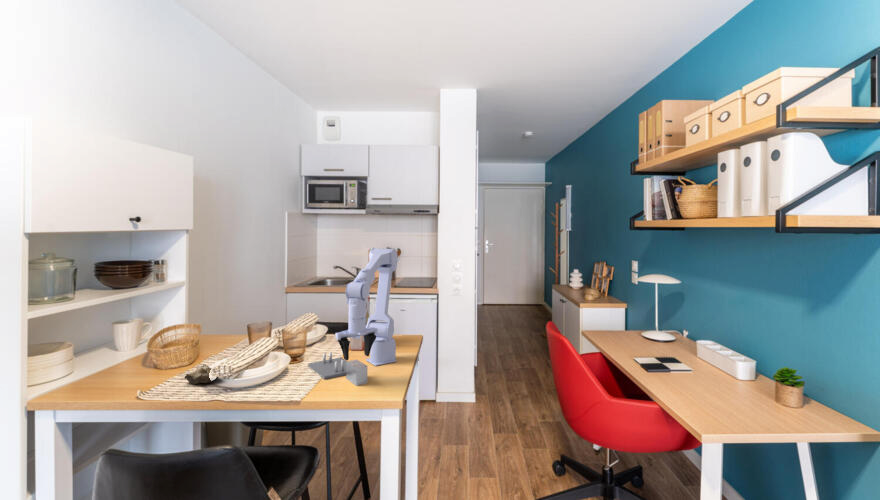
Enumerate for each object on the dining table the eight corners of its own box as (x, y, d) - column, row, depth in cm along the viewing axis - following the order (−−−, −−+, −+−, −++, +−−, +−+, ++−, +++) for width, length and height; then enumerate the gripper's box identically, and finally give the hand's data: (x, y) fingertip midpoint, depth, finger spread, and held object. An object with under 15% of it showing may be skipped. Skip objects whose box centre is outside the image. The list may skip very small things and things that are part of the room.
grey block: (356, 376, 143) (356, 359, 143) (367, 383, 137) (367, 366, 136) (345, 378, 141) (346, 361, 140) (356, 386, 134) (356, 368, 134)
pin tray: (340, 359, 160) (341, 348, 159) (359, 372, 147) (359, 359, 147) (308, 366, 152) (308, 354, 151) (324, 379, 139) (324, 366, 139)
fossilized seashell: (178, 380, 130) (210, 385, 130) (187, 359, 133) (218, 364, 133) (188, 384, 136) (218, 389, 137) (196, 364, 139) (226, 369, 140)
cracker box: (363, 350, 172) (364, 301, 170) (349, 350, 172) (349, 301, 171) (369, 341, 186) (370, 295, 184) (356, 341, 186) (356, 295, 184)
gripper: (341, 322, 130) (341, 364, 131) (382, 317, 139) (381, 356, 139) (332, 318, 135) (332, 358, 136) (372, 313, 144) (371, 351, 145)
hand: (356, 357), depth 138 cm, fingers open, 7 cm apart
